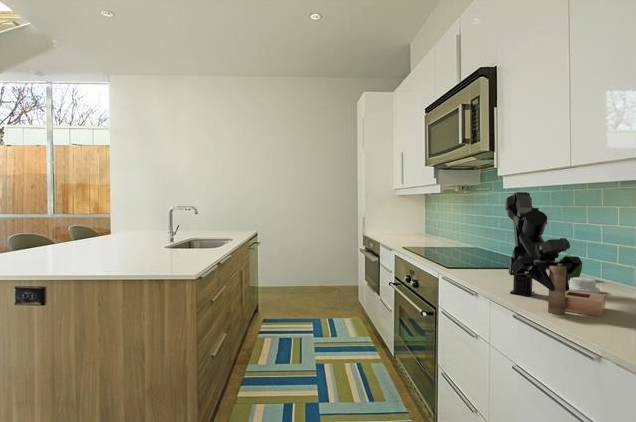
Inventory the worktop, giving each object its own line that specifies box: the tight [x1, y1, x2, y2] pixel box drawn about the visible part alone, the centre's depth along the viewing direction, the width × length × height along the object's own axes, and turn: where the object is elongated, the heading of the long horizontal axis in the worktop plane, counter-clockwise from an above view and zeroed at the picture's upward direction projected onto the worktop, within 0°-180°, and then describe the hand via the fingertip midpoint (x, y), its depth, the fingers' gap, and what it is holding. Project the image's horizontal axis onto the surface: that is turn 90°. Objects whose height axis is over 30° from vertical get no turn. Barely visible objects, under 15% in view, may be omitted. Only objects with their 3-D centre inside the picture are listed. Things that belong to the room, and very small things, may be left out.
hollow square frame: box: [565, 290, 606, 318], centre depth 118 cm, size 12×12×4 cm
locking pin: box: [547, 265, 566, 316], centre depth 113 cm, size 4×4×13 cm
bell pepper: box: [558, 253, 583, 280], centre depth 166 cm, size 8×8×10 cm
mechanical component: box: [569, 277, 601, 294], centre depth 143 cm, size 10×4×10 cm
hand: (560, 290), depth 112 cm, fingers closed on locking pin, 4 cm apart
